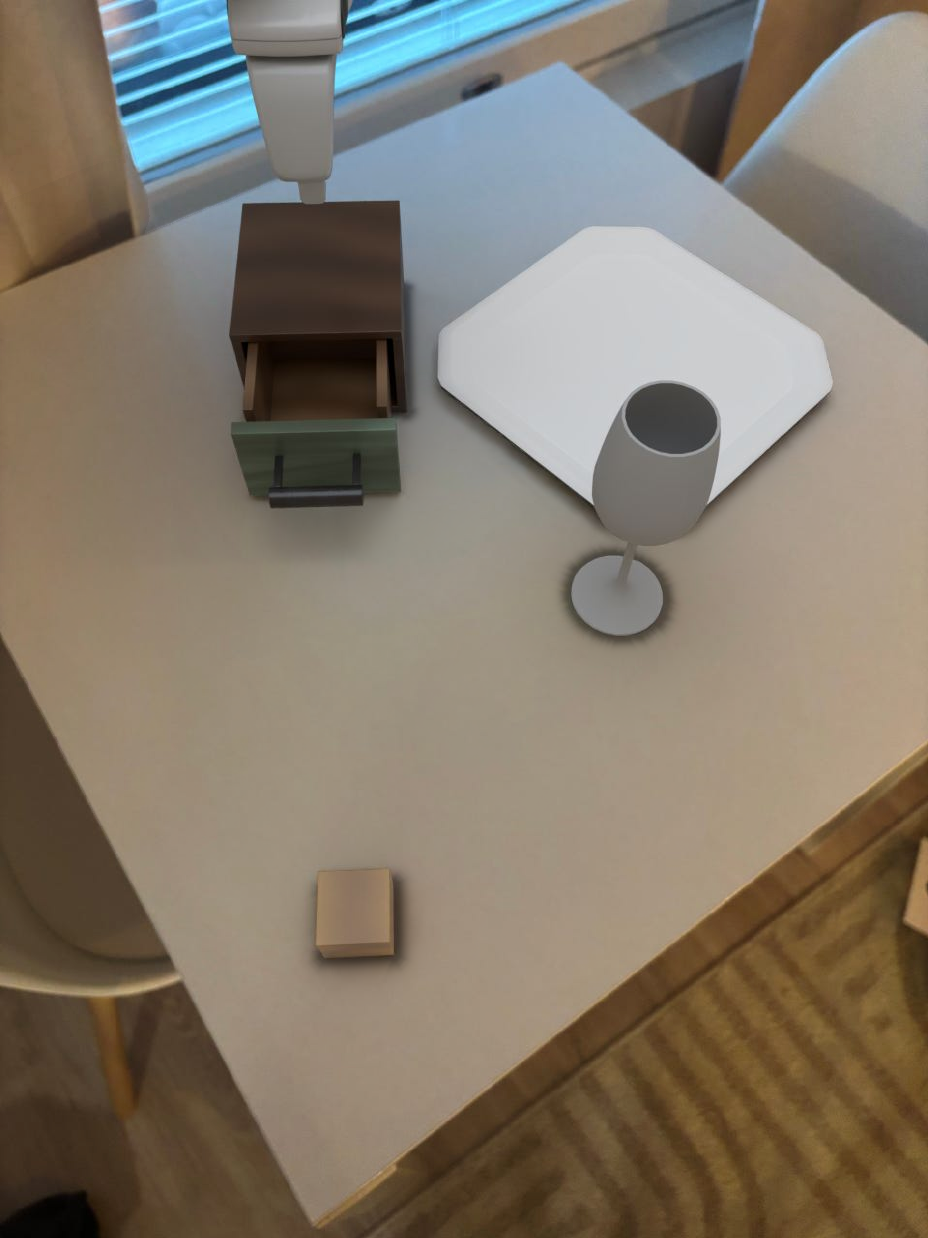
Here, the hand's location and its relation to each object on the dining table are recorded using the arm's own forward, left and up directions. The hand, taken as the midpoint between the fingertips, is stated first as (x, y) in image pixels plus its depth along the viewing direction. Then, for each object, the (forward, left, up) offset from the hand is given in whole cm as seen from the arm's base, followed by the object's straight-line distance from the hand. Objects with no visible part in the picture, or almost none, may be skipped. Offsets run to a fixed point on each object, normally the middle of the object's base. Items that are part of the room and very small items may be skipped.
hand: (314, 155), depth 69 cm
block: (+2, -51, -19) cm, 55 cm away
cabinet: (-1, 0, -19) cm, 19 cm away
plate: (+26, -4, -20) cm, 33 cm away
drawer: (-1, -12, -18) cm, 22 cm away
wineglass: (+22, -27, -20) cm, 40 cm away
